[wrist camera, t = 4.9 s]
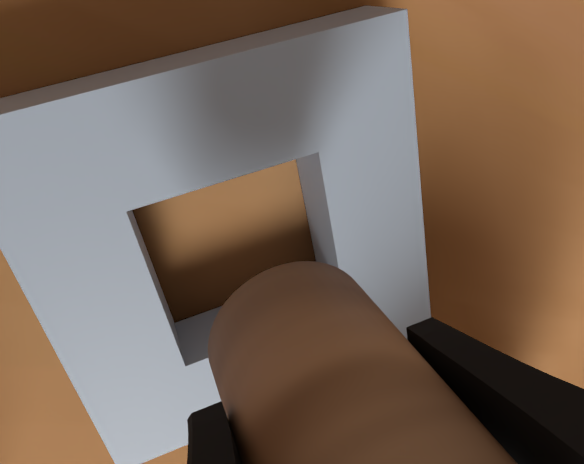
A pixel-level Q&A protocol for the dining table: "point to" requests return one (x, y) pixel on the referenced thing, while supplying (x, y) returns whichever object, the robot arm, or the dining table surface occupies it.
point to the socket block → (198, 174)
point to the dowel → (333, 379)
